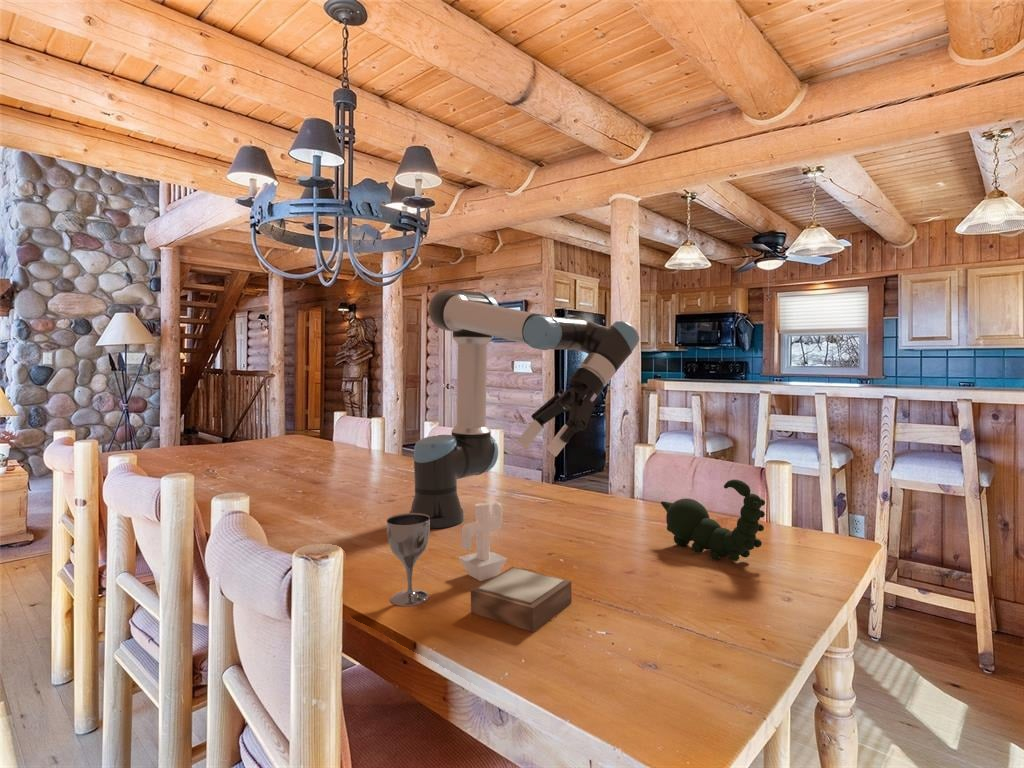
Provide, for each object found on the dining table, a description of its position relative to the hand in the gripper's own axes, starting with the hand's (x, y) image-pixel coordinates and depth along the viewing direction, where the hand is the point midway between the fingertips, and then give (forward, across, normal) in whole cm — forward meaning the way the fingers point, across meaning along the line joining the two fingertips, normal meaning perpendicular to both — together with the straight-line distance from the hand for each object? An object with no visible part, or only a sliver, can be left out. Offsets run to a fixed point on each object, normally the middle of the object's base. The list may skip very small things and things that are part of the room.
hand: (535, 448), depth 119 cm
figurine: (+27, -1, -8) cm, 29 cm away
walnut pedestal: (+27, -18, -9) cm, 34 cm away
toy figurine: (-8, -13, -44) cm, 47 cm away
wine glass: (+39, -4, +3) cm, 39 cm away
